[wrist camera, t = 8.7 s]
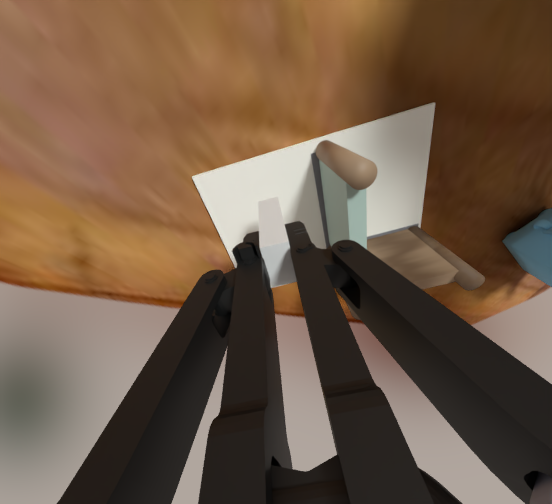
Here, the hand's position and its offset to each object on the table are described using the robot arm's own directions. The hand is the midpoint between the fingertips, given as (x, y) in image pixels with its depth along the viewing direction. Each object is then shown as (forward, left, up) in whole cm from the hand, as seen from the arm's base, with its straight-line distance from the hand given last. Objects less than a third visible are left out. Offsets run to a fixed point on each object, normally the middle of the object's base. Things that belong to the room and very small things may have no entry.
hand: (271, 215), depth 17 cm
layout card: (-4, +4, -5) cm, 8 cm away
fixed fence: (-9, +8, -5) cm, 14 cm away
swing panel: (-6, +2, -4) cm, 7 cm away
